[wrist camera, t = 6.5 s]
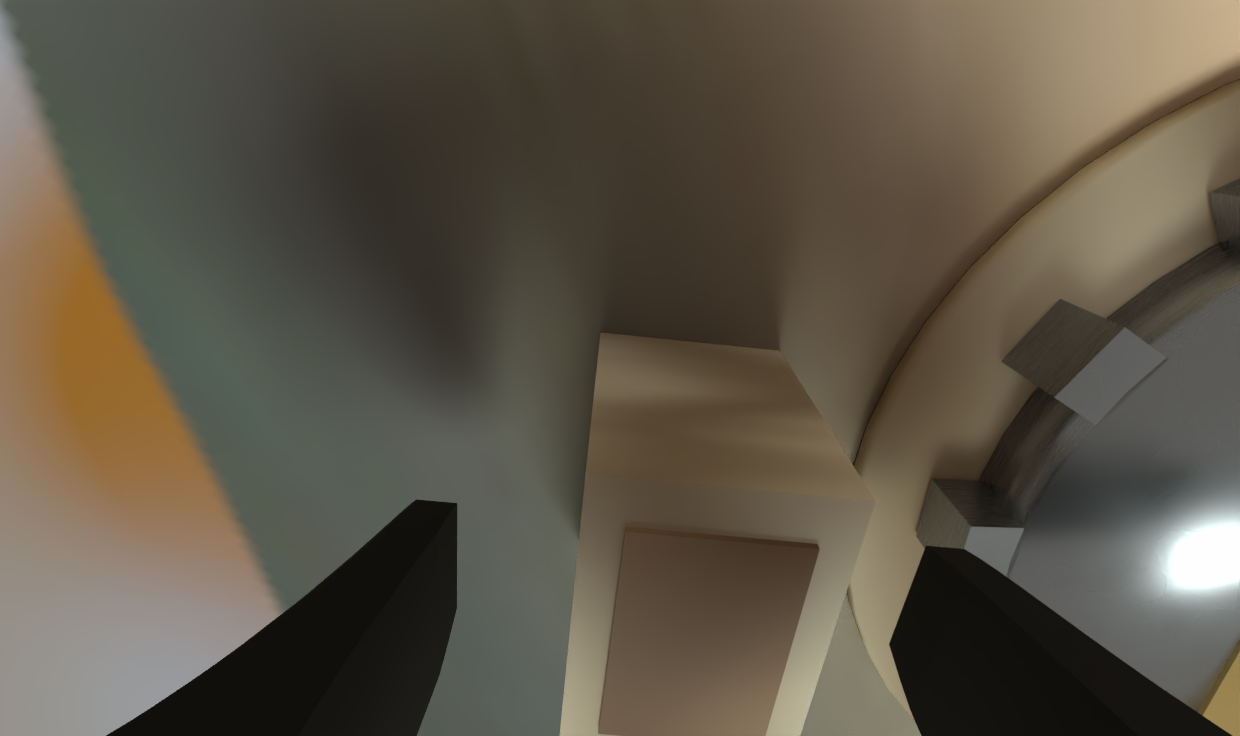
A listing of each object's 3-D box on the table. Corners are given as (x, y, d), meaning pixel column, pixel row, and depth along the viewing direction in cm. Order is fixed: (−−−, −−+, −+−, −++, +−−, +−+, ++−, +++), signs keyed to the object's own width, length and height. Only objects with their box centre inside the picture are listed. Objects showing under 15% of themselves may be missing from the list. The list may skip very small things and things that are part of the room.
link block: (778, 349, 12) (878, 506, 7) (733, 553, 14) (789, 781, 9) (600, 331, 12) (584, 478, 7) (579, 540, 14) (557, 763, 9)
